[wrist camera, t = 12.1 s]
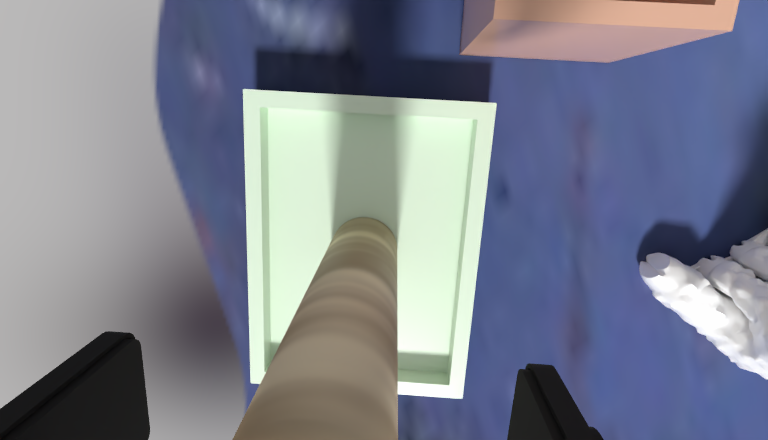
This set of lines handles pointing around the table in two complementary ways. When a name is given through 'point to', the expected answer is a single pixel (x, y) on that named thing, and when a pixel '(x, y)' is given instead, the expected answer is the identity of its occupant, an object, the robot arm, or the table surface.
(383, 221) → the tray
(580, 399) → the table surface
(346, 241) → the dowel
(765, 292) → the sitting furry creature
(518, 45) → the pink open box
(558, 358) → the table surface
